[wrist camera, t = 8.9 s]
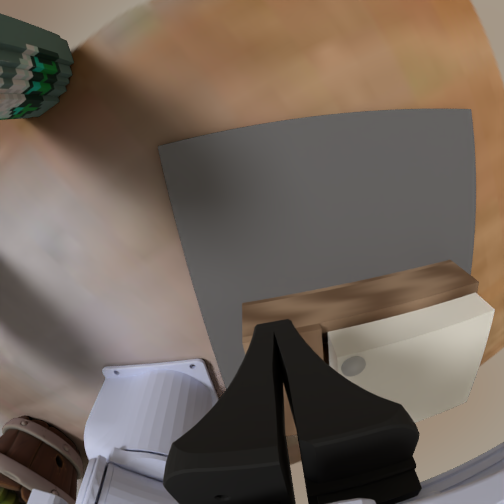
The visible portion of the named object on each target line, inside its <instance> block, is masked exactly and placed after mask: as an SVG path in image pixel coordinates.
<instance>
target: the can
mask: <svg viewBox="0 0 504 504" xmlns="http://www.w3.org/2000/svg"><path fill="white" fill-rule="evenodd" d="M73 63H74V61H73V58H72V55H71V52H70V49H69V46H68V43H67V41H66V40H64V39H61V38H60V36H59V35H57V34H55V33H52V32H50V31H47V30H44V29H42V28H39V27H36V26H34V25H31V24H29V23H26V22H23V21H20V20H18V19H15V18H12V17H9V16H6V15H3V14H0V120H5V119H20V118H30V117H39V116H41V115H42V114H43V113H44V112H46V111H47V110H49V109H50V108H51V107H53V106H54V105H55V104H57V103H58V102H59V99H58V96H60V95H61V94H63V93H64V92H65V91H67V90H66V87H65V86H66V85H67V84H69V80H68V78H69V77H70V76H72V72H71V69H70V65H71V64H73Z"/></svg>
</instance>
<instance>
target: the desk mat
mask: <svg viewBox="0 0 504 504" xmlns="http://www.w3.org/2000/svg"><path fill="white" fill-rule="evenodd" d="M158 150H159V155H160V159H161V164H162V168H163V172H164V177H165V181H166V185H167V189H168V193H169V197H170V201H171V205H172V209H173V213H174V217H175V221H176V225H177V229H178V233H179V236H180V240H181V244H182V248H183V251H184V255H185V259H186V262H187V266H188V269H189V273H190V276H191V280H192V283H193V287H194V290H195V293H196V297H197V300H198V303H199V307H200V310H201V313H202V317H203V320H204V323H205V326H206V329H207V333H208V336H209V339H210V342H211V345H212V348H213V351H214V354H215V357H216V360H217V363H218V366H219V369H220V372H221V375H222V378H223V381H224V384H225V387H226V389H227V388H228V386H229V385H230V383H231V382H232V380H233V378H234V377H235V375H236V373H237V371H238V369H239V367H240V365H241V363H242V361H243V359H244V357H245V351H244V347H243V344H242V303H246V302H252V301H257V300H263V299H269V298H274V297H280V296H285V295H290V294H296V293H301V292H306V291H311V290H316V289H322V288H327V287H331V286H336V285H341V284H346V283H351V282H356V281H360V280H365V279H370V278H374V277H379V276H383V275H388V274H392V273H396V272H401V271H405V270H409V269H414V268H418V267H422V266H426V265H430V264H434V263H439V262H443V261H447V260H452V261H453V262H454V263H455V264H457V265H458V266H459V267H461V268H462V269H463V270H465V271H466V272H467V273H468V274H470V275H471V267H472V257H473V246H474V233H475V212H476V167H475V146H474V133H473V122H472V113H471V109H401V110H380V111H365V112H352V113H341V114H331V115H322V116H314V117H306V118H298V119H291V120H284V121H277V122H271V123H265V124H259V125H253V126H247V127H242V128H237V129H231V130H226V131H221V132H217V133H212V134H207V135H203V136H198V137H194V138H189V139H185V140H181V141H177V142H173V143H169V144H165V145H161V146H158Z"/></svg>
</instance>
